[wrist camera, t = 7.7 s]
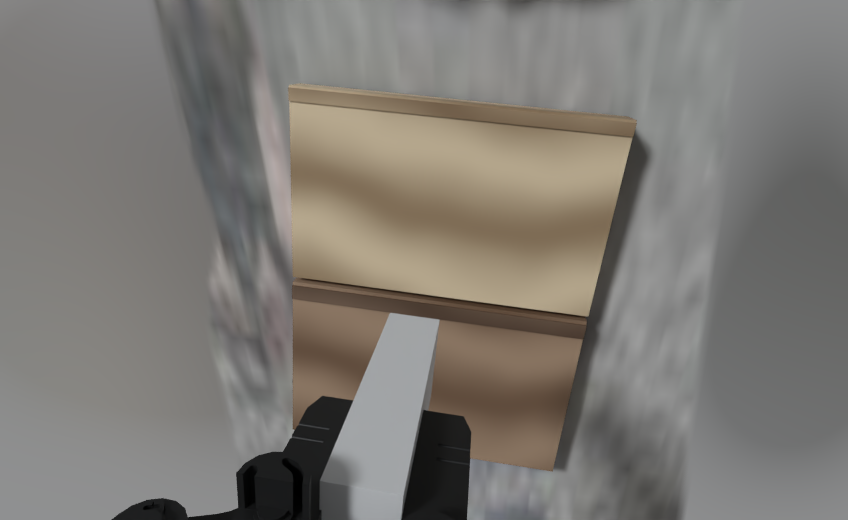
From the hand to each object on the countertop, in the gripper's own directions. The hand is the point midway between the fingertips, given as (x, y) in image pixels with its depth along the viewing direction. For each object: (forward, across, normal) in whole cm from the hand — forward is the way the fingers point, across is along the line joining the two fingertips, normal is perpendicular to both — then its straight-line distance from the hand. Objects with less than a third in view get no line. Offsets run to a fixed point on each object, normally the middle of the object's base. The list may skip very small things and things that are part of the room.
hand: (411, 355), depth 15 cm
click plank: (+12, 0, +2) cm, 13 cm away
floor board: (+13, 0, -8) cm, 15 cm away
